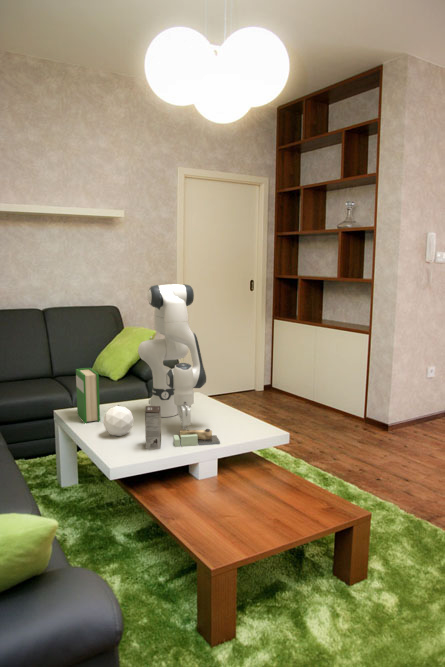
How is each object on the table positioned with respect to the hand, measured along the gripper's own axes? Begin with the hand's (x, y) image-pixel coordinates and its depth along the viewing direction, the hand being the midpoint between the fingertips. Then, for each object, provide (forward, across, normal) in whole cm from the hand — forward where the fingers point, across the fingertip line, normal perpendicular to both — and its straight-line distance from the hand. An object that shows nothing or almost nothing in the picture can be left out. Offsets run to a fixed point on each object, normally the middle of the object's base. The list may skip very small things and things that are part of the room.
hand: (184, 429), depth 238 cm
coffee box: (+3, -12, +14) cm, 19 cm away
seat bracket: (+2, -12, +1) cm, 12 cm away
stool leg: (+1, -10, -4) cm, 11 cm away
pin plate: (+2, -11, -9) cm, 14 cm away
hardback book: (+2, +36, +44) cm, 57 cm away
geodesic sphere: (+2, +6, +29) cm, 30 cm away
